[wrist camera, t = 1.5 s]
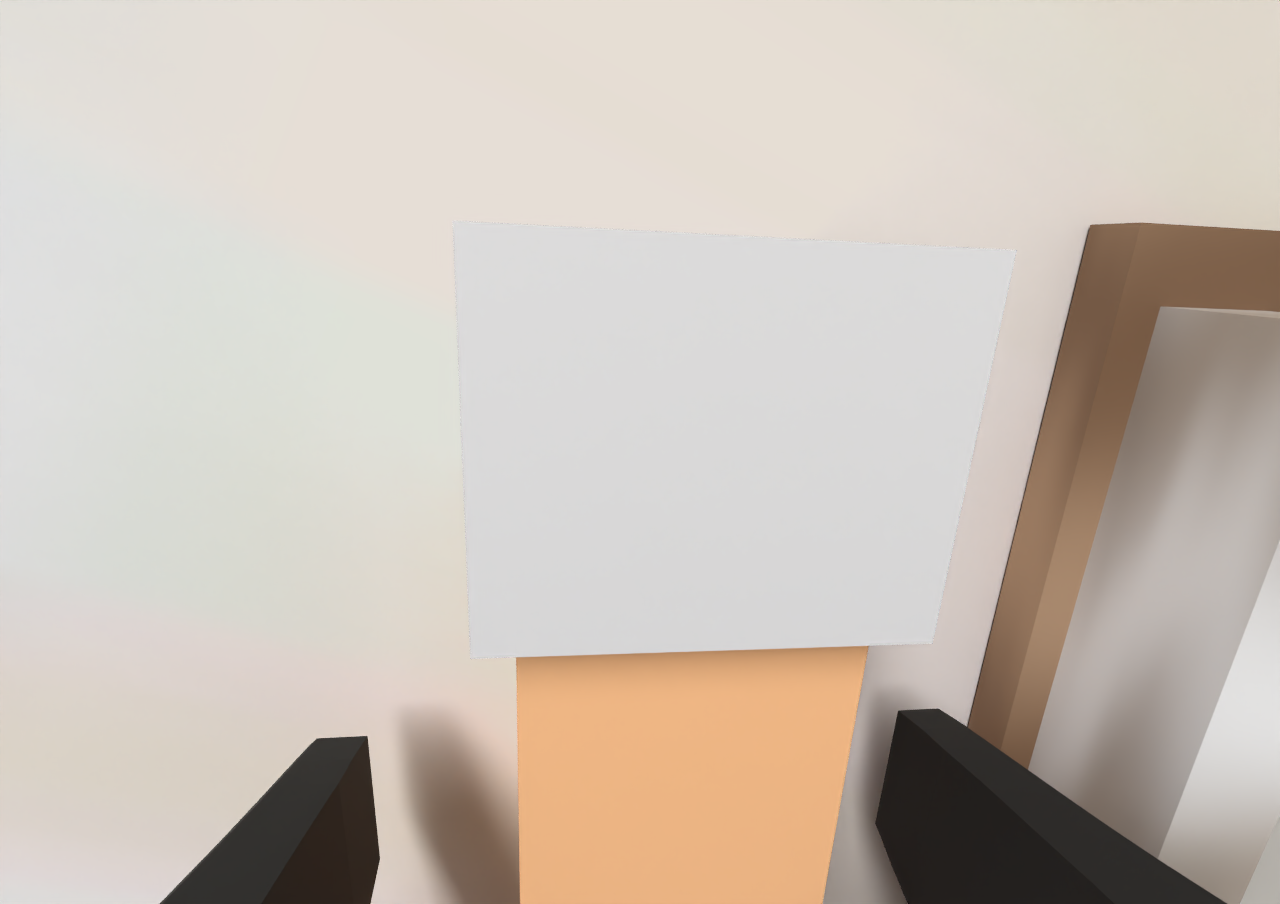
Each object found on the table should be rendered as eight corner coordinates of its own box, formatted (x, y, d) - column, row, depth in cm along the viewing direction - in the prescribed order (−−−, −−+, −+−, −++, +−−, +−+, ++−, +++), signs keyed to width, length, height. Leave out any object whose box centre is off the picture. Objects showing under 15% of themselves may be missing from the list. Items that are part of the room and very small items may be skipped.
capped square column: (706, 992, 13) (778, 1360, 8) (521, 1011, 12) (500, 1411, 8) (789, 248, 8) (1016, 249, 4) (509, 234, 8) (451, 219, 4)
